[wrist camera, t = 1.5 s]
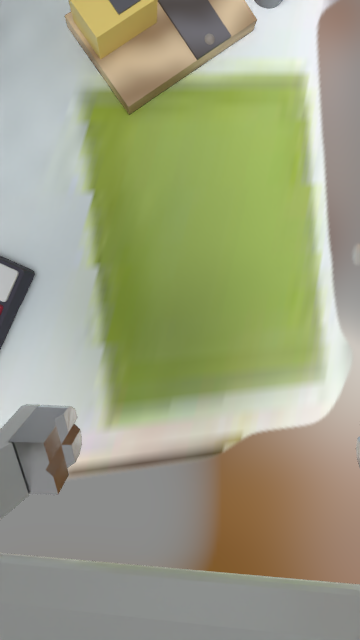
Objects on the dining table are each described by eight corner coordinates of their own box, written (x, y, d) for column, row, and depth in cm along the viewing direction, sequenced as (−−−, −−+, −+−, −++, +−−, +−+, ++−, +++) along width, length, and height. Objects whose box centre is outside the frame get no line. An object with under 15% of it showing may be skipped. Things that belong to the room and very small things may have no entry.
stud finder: (73, 21, 37) (67, -6, 34) (130, -17, 38) (129, -46, 34) (100, 59, 38) (96, 36, 34) (156, 22, 38) (157, -4, 35)
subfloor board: (67, 26, 38) (63, 12, 37) (196, -57, 40) (199, -76, 38) (129, 114, 39) (128, 104, 38) (252, 30, 41) (258, 16, 39)
